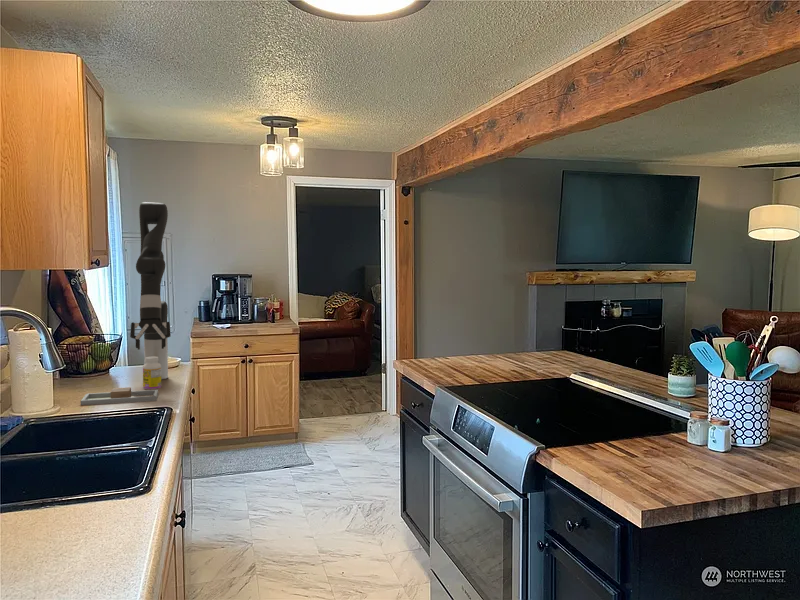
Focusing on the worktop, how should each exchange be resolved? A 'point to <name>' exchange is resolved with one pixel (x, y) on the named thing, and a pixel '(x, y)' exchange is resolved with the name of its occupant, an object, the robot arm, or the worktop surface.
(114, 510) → the worktop surface
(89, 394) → the tray
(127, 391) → the block
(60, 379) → the worktop surface
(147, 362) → the supplement bottle
